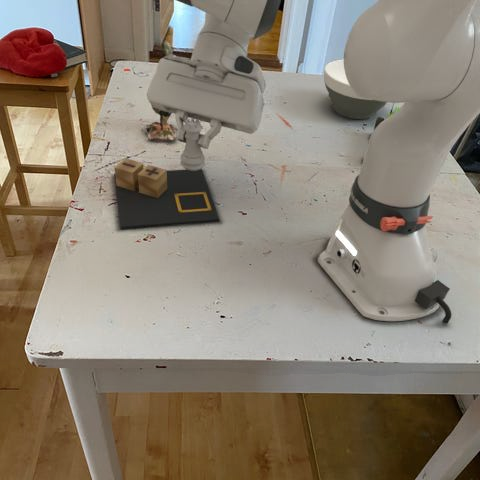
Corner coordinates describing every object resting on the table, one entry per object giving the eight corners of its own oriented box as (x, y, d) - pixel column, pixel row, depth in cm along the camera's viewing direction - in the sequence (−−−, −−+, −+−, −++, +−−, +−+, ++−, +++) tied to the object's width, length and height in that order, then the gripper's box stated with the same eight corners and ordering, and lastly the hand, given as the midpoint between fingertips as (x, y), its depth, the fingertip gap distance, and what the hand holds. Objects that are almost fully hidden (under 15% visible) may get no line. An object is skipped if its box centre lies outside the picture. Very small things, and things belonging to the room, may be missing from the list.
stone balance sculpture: (184, 123, 113) (183, 30, 99) (174, 145, 106) (171, 48, 91) (151, 119, 114) (145, 25, 99) (138, 141, 106) (130, 42, 91)
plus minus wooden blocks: (157, 198, 90) (156, 179, 87) (116, 185, 92) (113, 166, 89) (167, 188, 93) (166, 169, 90) (127, 176, 95) (125, 157, 92)
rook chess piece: (178, 170, 83) (177, 126, 77) (182, 157, 86) (182, 114, 80) (203, 173, 83) (204, 129, 77) (207, 160, 86) (208, 117, 80)
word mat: (219, 221, 88) (219, 218, 87) (120, 229, 84) (120, 226, 83) (201, 171, 99) (201, 168, 99) (114, 176, 96) (113, 172, 95)
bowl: (308, 95, 131) (315, 58, 124) (373, 95, 134) (383, 59, 127) (330, 128, 118) (339, 89, 111) (402, 127, 121) (415, 89, 114)
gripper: (155, 41, 79) (130, 121, 80) (269, 68, 75) (241, 152, 76) (168, 61, 85) (145, 136, 86) (274, 87, 81) (249, 164, 82)
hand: (191, 143), depth 81 cm, fingers closed on rook chess piece, 3 cm apart
